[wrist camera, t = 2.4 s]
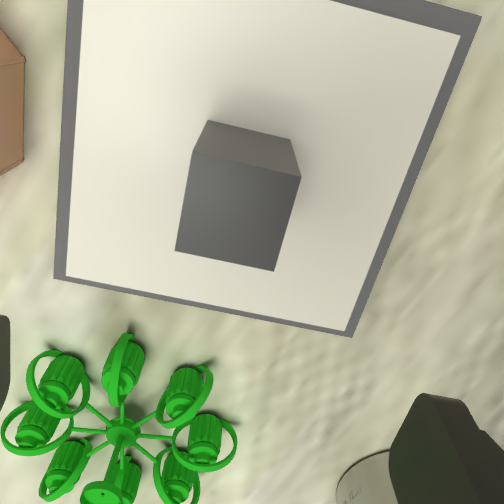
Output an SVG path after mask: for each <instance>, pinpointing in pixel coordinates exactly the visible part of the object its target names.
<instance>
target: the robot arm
mask: <svg viewBox="0 0 504 504" xmlns="http://www.w3.org/2000/svg"><path fill="white" fill-rule="evenodd" d="M9 385H10V321H9V318H8V317H7V316H4V315H0V411H1V409H2V407H3V404H4V402H5V399H6V396H7V393H8V389H9ZM336 501H337V504H504V451H503V450H502V449H501V448H500V447H499V445H498V444H497V443H496V442H495V441H494V440H493V439H492V438H491V437H490V436H489V435H488V434H487V433H486V432H485V431H482V430H479V428H478V426H477V424H476V423H475V421H474V419H473V417H472V415H471V414H470V412H469V410H468V408H467V406H466V405H465V404H464V403H463V402H462V401H461V400H458V399H453V398H448V397H442V396H437V395H431V394H426V393H422V394H420V395H418V396H417V398H416V399H415V401H414V402H413V404H412V406H411V408H410V410H409V412H408V414H407V416H406V418H405V420H404V422H403V424H402V426H401V427H400V429H399V431H398V433H397V435H396V437H395V439H394V441H393V443H392V445H391V448H390V451H388V452H384V453H380V454H377V455H374V456H371V457H369V458H367V459H365V460H362V461H361V462H359V463H358V464H356V465H355V466H353V467H352V468H351V469H350V470H349V471H348V472H347V473H346V474H345V475H344V476H343V478H342V479H341V481H340V482H339V485H338V488H337V491H336Z"/></svg>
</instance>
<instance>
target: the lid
mask: <svg viewBox="0 0 504 504" xmlns="http://www.w3.org/2000/svg"><path fill="white" fill-rule="evenodd" d="M459 39H460V35H456V34H452V33H449V32H445V31H441V30H438V29H434V28H430V27H427V26H423V25H419V24H416V23H412V22H408V21H404V20H401V19H397V18H393V17H390V16H386V15H382V14H379V13H375V12H371V11H368V10H364V9H360V8H356V7H353V6H349V5H345V4H342V3H338V2H334V1H331V0H84V2H83V18H82V33H81V49H80V64H79V79H78V95H77V110H76V125H75V141H74V156H73V172H72V187H71V202H70V218H69V233H68V248H67V264H66V276H70V277H75V278H80V279H85V280H90V281H95V282H100V283H105V284H110V285H115V286H120V287H125V288H130V289H135V290H140V291H145V292H150V293H155V294H160V295H165V296H170V297H175V298H180V299H185V300H190V301H195V302H200V303H205V304H210V305H215V306H220V307H225V308H230V309H235V310H240V311H245V312H250V313H255V314H260V315H265V316H270V317H275V318H280V319H285V320H290V321H295V322H300V323H305V324H310V325H315V326H320V327H325V328H330V329H335V330H340V331H345V329H346V326H347V324H348V321H349V318H350V316H351V313H352V311H353V308H354V306H355V303H356V301H357V298H358V296H359V293H360V291H361V288H362V285H363V283H364V280H365V278H366V275H367V273H368V270H369V268H370V265H371V263H372V260H373V257H374V255H375V252H376V250H377V247H378V245H379V242H380V240H381V237H382V235H383V232H384V230H385V227H386V224H387V222H388V219H389V217H390V214H391V212H392V209H393V207H394V204H395V202H396V199H397V196H398V194H399V191H400V189H401V186H402V184H403V181H404V179H405V176H406V174H407V171H408V168H409V166H410V163H411V161H412V158H413V156H414V153H415V151H416V148H417V146H418V143H419V141H420V138H421V135H422V133H423V130H424V128H425V125H426V123H427V120H428V118H429V115H430V113H431V110H432V107H433V105H434V102H435V100H436V97H437V95H438V92H439V90H440V87H441V85H442V82H443V80H444V77H445V74H446V72H447V69H448V67H449V64H450V62H451V59H452V57H453V54H454V52H455V49H456V46H457V44H458V41H459Z"/></svg>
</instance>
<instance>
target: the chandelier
mask: <svg viewBox="0 0 504 504" xmlns="http://www.w3.org/2000/svg"><path fill="white" fill-rule="evenodd" d="M132 342H134V336H133V334H127V333H123V334H122V335H121V337H120V339H119V341H118V343H117V345H116V346H114V347H113V348H112V349H111V351H110V354H109V356H108V358H107V360H106V363H105V365H104V367H103V372H102V379H101V383H102V386H103V388H104V389H105V390H106V391H107V392H108V393H109V403H110V405H111V406H116V407H120V418H115V419H112V420H111V421H109V420H108V419H107V418H105V417H104V416H103V415H102V414H101V413H99V412H98V411H97V410H96V409H94V408H93V407H92V406H91V405H89V404H88V401H89V397H90V384H89V380H88V377H87V375H86V373H85V371H84V367H83V365H82V363H81V362H80V361H79V360H78V359H77V358H75V357H72V356H68V355H64V354H63V353H62V352H61V351H58V350H49V351H45V352H43V353H41V354H40V355H38V356H37V357H36V358H34V359H33V360H32V361H31V363H30V364H29V366H28V369H27V373H26V383H27V388H28V391H29V393H30V395H31V397H32V399H33V401H31V402H28V403H25V404H23V405H21V406H19V407H17V408H16V409H14V410H13V411H12V412H11V413H10V414H9V415H8V416H7V417H6V418H5V420H4V421H3V423H2V426H1V439H2V443H3V445H4V447H5V448H6V449H7V450H8V451H10V452H12V453H14V454H17V455H21V456H35V455H40V454H44V453H47V452H49V451H52V450H53V449H55V448H57V447H58V446H59V447H58V449H57V450H56V452H55V454H54V457H53V459H52V461H51V463H50V465H49V467H48V469H47V472H46V474H45V475H44V477H43V479H42V482H41V484H40V487H39V496H40V497H41V498H43V499H44V500H45V501H47V502H51V501H54V500H56V499H57V498H59V497H60V496H62V495H63V494H64V493H68V492H70V491H71V490H72V489H73V487H74V485H75V484H76V483H77V482H78V480H79V479H80V476H81V473H82V472H83V470H84V469H85V467H86V465H87V463H88V461H89V459H90V456H91V455H92V454H94V453H96V452H97V451H99V450H100V449H102V448H104V447H105V446H107V445H109V444H110V443H111V444H112V445H114V446H115V448H114V451H113V454H112V457H111V460H110V463H109V466H108V469H107V472H106V475H105V478H104V481H95V482H91V483H89V484H87V485H86V486H85V487H84V489H83V492H82V494H81V497H80V503H81V504H132V503H133V502H134V500H135V497H136V494H137V490H138V486H139V482H140V478H141V472H140V469H139V467H138V466H137V465H135V464H133V463H130V462H129V461H132V457H131V456H124V447H129V446H131V445H133V446H135V447H136V448H137V449H138V450H140V451H141V452H142V453H143V454H144V455H146V456H147V457H148V458H149V459H151V460H152V461H153V462H154V465H153V478H154V483H155V486H156V489H157V492H158V494H159V496H160V498H161V499H162V501H163V502H164V504H180V503H182V502H184V501H185V500H187V498H188V496H189V492H190V490H191V489H192V484H193V489H194V491H193V499H192V502H191V504H197V502H198V500H199V496H200V481H199V476H198V473H197V472H212V471H216V470H219V469H221V468H223V467H225V466H226V465H227V464H228V463H229V462H230V461H231V460H232V459H233V457H234V455H235V453H236V448H237V436H236V433H235V431H234V429H233V428H232V426H231V425H230V424H229V423H228V422H226V421H225V420H223V419H218V418H217V417H215V416H213V415H210V414H202V415H199V416H197V417H195V415H196V414H197V411H198V410H199V409H200V408H201V406H202V405H203V404H204V402H205V401H206V399H207V397H208V395H209V393H210V391H211V389H212V385H213V375H212V373H211V372H210V371H209V370H208V369H207V368H206V367H205V366H203V365H198V366H196V367H195V368H194V369H195V370H194V369H191V368H181V369H179V370H177V371H176V372H174V373H173V375H172V376H171V378H170V382H169V387H168V388H167V389H166V391H165V392H164V394H163V395H162V397H161V399H160V401H159V403H158V406H157V409H156V411H155V412H153V413H151V414H150V415H148V416H147V417H145V418H143V419H142V420H140V421H139V422H137V423H136V422H134V421H133V420H131V419H128V418H124V401H125V399H126V396H127V394H128V393H129V392H130V391H131V390H132V389H133V386H134V385H136V384H137V382H138V379H139V376H140V373H141V370H142V367H143V364H144V360H145V356H144V352H143V350H142V349H141V347H140V346H138V345H137V344H135V343H132ZM133 348H134V349H133ZM46 356H52V357H57V358H56V359H54V360H53V361H52V362H51V363H50V365H49V367H48V368H47V370H46V372H45V373H44V375H43V377H42V378H41V380H40V384H39V385H38V389H37V386H36V383H35V378H34V371H35V366H36V364H37V362H38V360H39V359H40V358H42V357H46ZM130 356H131V357H130ZM66 361H67V362H66ZM71 366H72V367H71ZM70 368H71V369H70ZM200 372H206V380H205V384H204V382H203V379H202V376H201V375H200ZM80 382H81V384H82V389H83V398H82V402H81V404H80V406H79V408H78V409H77V410H75V411H71V409H70V408H69V407H68V406H67V405H66V404H67V403H68V401H69V400H71V399H72V398H73V396H74V394H75V392H76V390H77V388H78V386H79V384H80ZM190 383H191V384H190ZM203 385H204V386H203ZM85 407H86V408H88V409H89V410H90V411H91V412H93V413H94V414H95V415H96V416H97V417H99V418H100V419H101V420H102V421H104V422H105V423H106V424H107V426H106V430H98V429H87V428H77V427H73V425H74V420H73V416H74V415H76V414H77V413H79V412H80V411H82V410H83V409H84V408H85ZM165 407H166V412H167V414H168V415H169V416H170V417H171V418H172V420H170V421H164V420H163V413H164V409H165ZM27 410H28V411H27ZM62 410H63V411H62ZM24 411H27V412H26V414H25V416H24V418H23V419H22V421H21V423H20V424H19V426H18V431H17V434H16V436H15V440H16V443H17V444H18V445H19V447H17V446H15V445H13V444H11V443H10V442H9V441H8V440H7V439H6V437H5V431H6V428H7V426H8V425H9V423H10V422H11V421H12V420H13V419H14V418H15V417H16V416H18V415H19V414H21V413H22V412H24ZM42 412H43V413H42ZM154 416H156V419H157V421H158V422H159V423H160V424H161V425H162V426H164V427H165V428H169V429H170V428H175V427H176V429H175V430H174V433H173V436H161V435H151V434H140V433H141V430H140V427H139V425H141V424H143V423H144V422H146V421H148V420H149V419H151V418H152V417H154ZM210 417H211V418H210ZM61 418H70V424H69V426H68V428H67V430H66V431H65V432H64V433H63V435H61V436H60V437H59V438H58V439H56V440H55V441H53V442H51V443H49V444H47V445H46V443H47V442H49V441H50V439H51V437H52V436H53V434H54V432H55V430H56V428H57V426H58V424H59V422H60V420H61ZM203 423H204V424H203ZM189 424H191V425H190V432H189V438H188V447H187V450H188V453H186V452H183V453H182V451H178V450H177V447H176V444H175V439H176V437H177V435H178V433H179V432H180V431H181V430H182V429H183V428H184V427H186V426H187V425H189ZM209 426H210V427H209ZM222 427H223V428H225V429H226V430H227V431H228V432H229V434H230V435H231V437H232V439H233V443H234V447H233V450H232V451H231V453H230V454H229V455H228V456H227V457H226V458H225V459H223V460H222V461H220V462H217V463H215V462H216V460H217V456H218V454H219V453H220V447H221V435H222ZM72 431H76V432H86V433H97V434H107V435H106V437H107V440H108V441H106V442H105V443H103V444H101V445H100V446H98V447H97V448H95V449H93V450H92V445H91V443H90V442H89V441H87V440H86V439H84V438H83V439H81V440H79V442H81V443H82V444H83V445H85V447H84V446H83V445H82V444H80V443H77V442H73V441H69V442H65V441H66V439H67V438H68V437H69V436H70V434H71V432H72ZM202 431H203V432H202ZM138 437H139V438H150V439H161V440H171V441H172V447H168V448H166V449H164V450H163V451H161V452H160V453H159V454H158V455H157V456H156V458H155V457H153V456H152V455H151V454H150V453H148V452H147V451H146V450H145V449H144V448H142V447H141V446H140V445H139V444H137V443H136V442H135V441H136V439H137V438H138ZM64 442H65V443H64ZM62 443H63V444H62ZM76 444H77V445H76ZM119 452H120V463H118V464H116V462H117V458H118V455H119ZM165 452H171V454H170V455H169V456H168V457H167V458H166V460H165V462H164V467H163V472H162V477H161V474H160V464H161V459H162V457H163V455H164V453H165ZM180 464H181V465H180ZM47 488H48V489H49V493H50V494H48V495H46V491H47Z"/></svg>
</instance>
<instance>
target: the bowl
mask: <svg viewBox="0 0 504 504" xmlns="http://www.w3.org/2000/svg"><path fill="white" fill-rule="evenodd" d="M25 62H26V61H25V59H24V56H22V55H21V54H20V53H19V51H18V50H17V49H16V48H15V46H14V45H13V44H12V42H11V41H10V40H9V39H8V37H7V36H6V35H5V33H4V32H3V31H2V29H1V28H0V176H1V175H2V174H4V173H6V172H7V171H9V170H11V169H12V168H14V167H16V166H17V165H19V164H21V163H22V162H23V160H24V158H23V113H24V63H25Z"/></svg>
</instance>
